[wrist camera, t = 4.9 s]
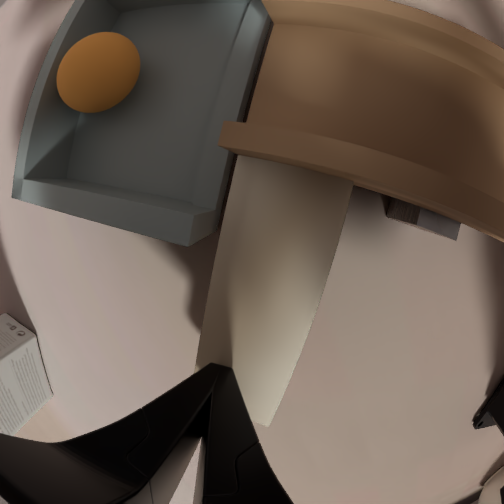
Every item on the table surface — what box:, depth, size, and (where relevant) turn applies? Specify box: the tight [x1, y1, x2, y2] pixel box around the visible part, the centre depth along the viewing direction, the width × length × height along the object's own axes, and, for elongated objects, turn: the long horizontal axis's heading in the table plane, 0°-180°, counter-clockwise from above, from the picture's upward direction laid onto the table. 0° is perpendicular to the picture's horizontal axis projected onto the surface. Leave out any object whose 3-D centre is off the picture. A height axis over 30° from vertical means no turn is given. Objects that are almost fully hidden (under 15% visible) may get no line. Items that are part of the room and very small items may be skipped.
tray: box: [12, 0, 272, 247], centre depth 7 cm, size 8×10×3 cm
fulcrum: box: [387, 197, 461, 240], centre depth 7 cm, size 2×6×2 cm, turn 167°
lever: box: [194, 0, 504, 427], centre depth 5 cm, size 12×13×2 cm
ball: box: [57, 32, 140, 113], centre depth 7 cm, size 3×3×3 cm
